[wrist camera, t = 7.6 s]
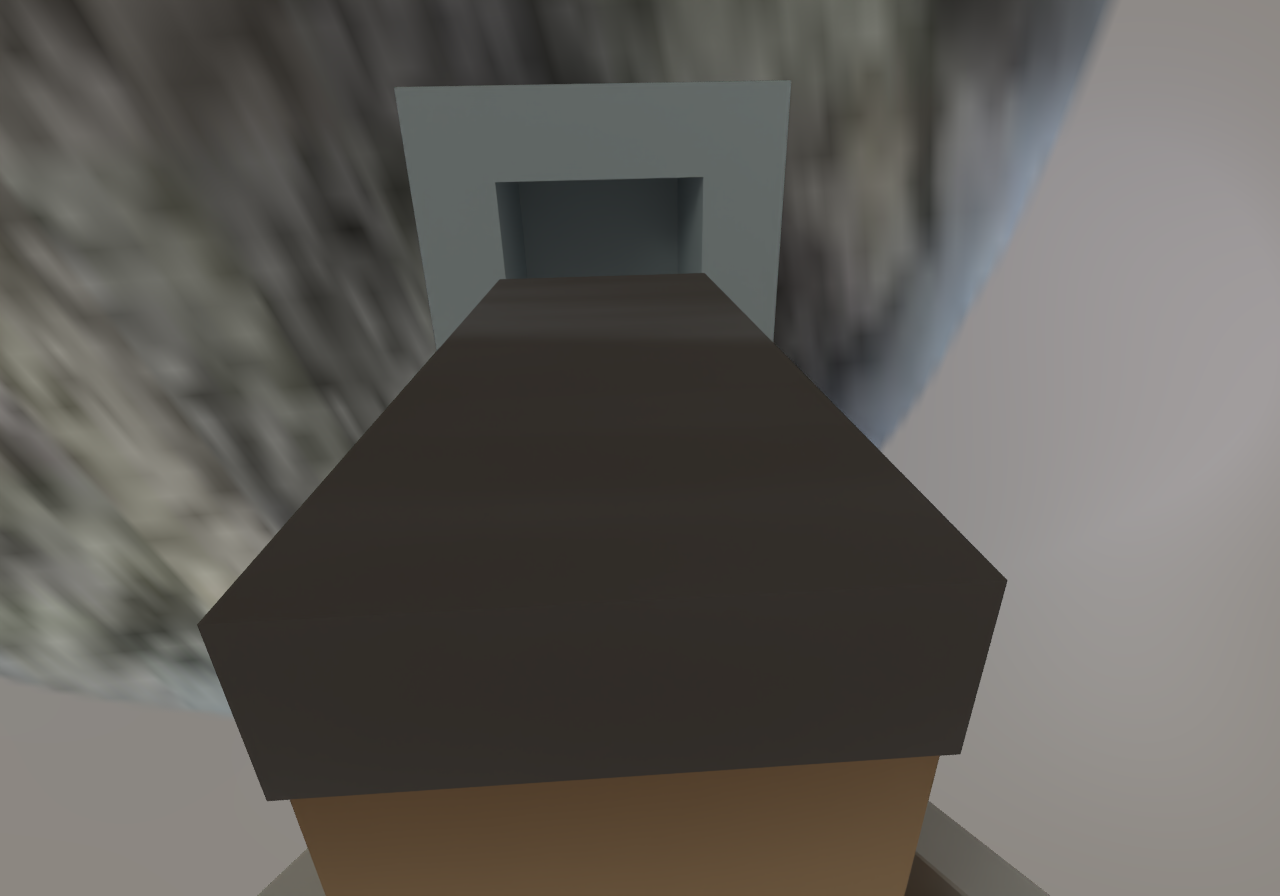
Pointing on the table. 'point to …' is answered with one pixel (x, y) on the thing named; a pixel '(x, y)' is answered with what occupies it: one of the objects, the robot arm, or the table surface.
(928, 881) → the robot arm
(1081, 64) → the table surface
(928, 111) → the table surface
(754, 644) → the brown rectangular block
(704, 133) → the grey hollow frame
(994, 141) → the table surface
